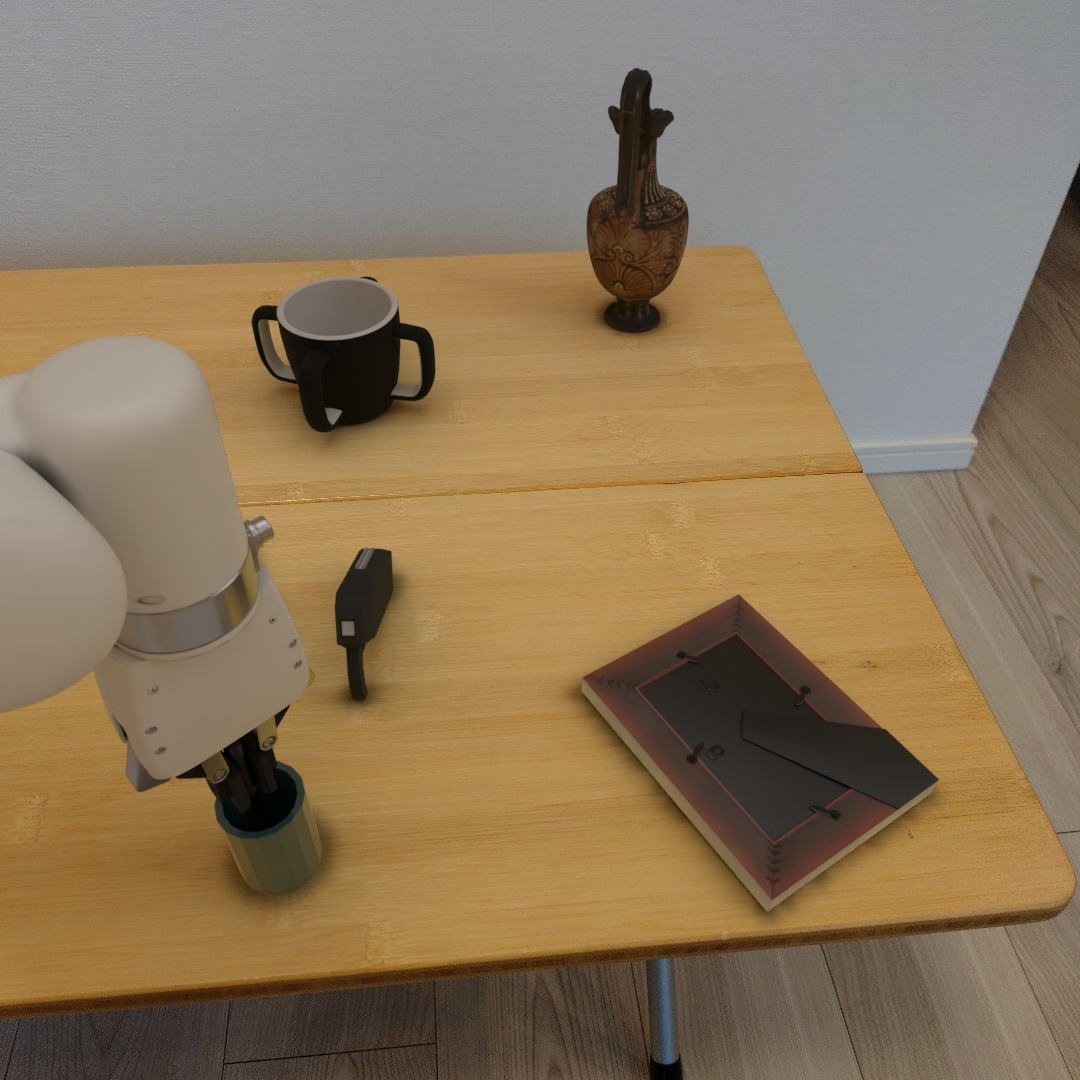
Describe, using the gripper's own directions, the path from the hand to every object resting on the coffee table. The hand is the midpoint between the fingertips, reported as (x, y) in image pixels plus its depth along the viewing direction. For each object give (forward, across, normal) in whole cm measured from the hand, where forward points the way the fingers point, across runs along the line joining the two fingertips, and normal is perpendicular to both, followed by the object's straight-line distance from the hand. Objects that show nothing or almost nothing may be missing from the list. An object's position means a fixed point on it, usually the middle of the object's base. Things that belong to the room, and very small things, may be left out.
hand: (246, 785), depth 59 cm
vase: (+9, -71, -31) cm, 78 cm away
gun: (+10, -18, -12) cm, 24 cm away
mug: (+10, -36, -40) cm, 54 cm away
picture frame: (+10, -32, +17) cm, 37 cm away
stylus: (+8, 0, 0) cm, 8 cm away
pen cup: (+10, -1, 0) cm, 10 cm away
